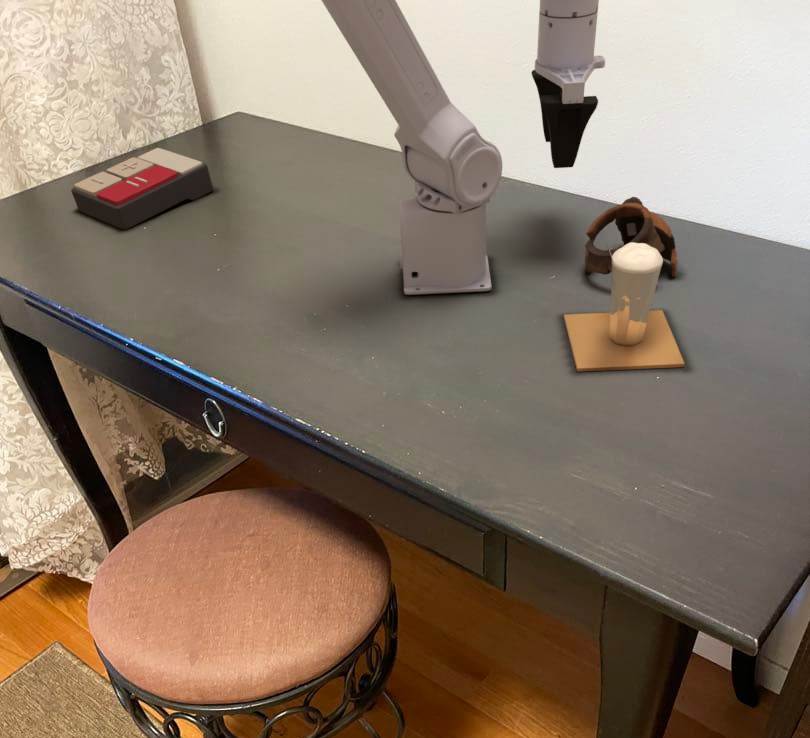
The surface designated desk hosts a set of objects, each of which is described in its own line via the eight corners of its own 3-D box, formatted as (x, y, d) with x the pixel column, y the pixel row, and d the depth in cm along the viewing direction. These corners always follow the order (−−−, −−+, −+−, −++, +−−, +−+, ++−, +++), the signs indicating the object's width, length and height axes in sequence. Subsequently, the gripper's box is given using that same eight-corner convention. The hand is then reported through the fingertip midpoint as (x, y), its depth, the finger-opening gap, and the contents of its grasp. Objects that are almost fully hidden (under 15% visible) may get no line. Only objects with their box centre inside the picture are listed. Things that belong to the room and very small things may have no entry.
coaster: (576, 371, 80) (577, 368, 80) (563, 317, 87) (563, 314, 87) (684, 367, 79) (684, 363, 79) (661, 313, 86) (662, 309, 86)
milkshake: (589, 328, 84) (599, 231, 77) (642, 323, 85) (657, 226, 78) (600, 352, 81) (612, 253, 74) (655, 347, 81) (672, 248, 74)
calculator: (67, 183, 111) (157, 142, 118) (79, 215, 114) (166, 172, 122) (114, 202, 106) (207, 158, 113) (126, 235, 109) (215, 190, 116)
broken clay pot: (689, 294, 90) (666, 238, 84) (603, 324, 94) (575, 274, 88) (676, 218, 96) (654, 162, 90) (596, 251, 100) (570, 199, 94)
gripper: (622, 27, 78) (606, 176, 87) (597, -9, 88) (585, 128, 98) (545, 32, 78) (537, 180, 88) (530, -5, 89) (524, 131, 98)
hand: (558, 153), depth 93 cm, fingers open, 7 cm apart
